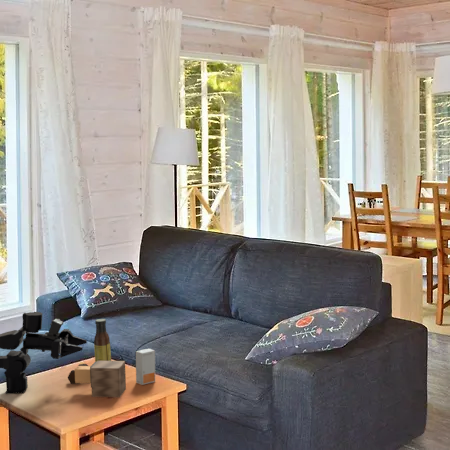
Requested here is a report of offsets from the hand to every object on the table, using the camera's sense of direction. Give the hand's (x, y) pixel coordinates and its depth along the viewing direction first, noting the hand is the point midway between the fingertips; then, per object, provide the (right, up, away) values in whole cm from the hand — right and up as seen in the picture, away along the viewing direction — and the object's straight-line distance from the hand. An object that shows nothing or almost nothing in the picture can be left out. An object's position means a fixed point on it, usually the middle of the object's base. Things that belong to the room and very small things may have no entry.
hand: (84, 345), depth 262 cm
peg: (+2, -13, -2) cm, 13 cm away
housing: (+9, -17, -2) cm, 19 cm away
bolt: (-4, -15, +16) cm, 23 cm away
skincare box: (+21, -15, +9) cm, 28 cm away
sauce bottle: (+2, -14, +26) cm, 30 cm away
